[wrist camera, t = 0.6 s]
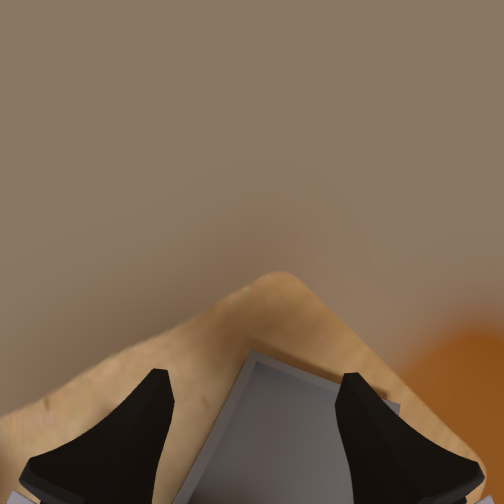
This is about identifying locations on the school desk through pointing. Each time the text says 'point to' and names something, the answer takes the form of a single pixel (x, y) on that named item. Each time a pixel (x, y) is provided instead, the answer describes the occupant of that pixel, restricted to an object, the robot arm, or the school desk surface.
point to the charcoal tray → (273, 442)
